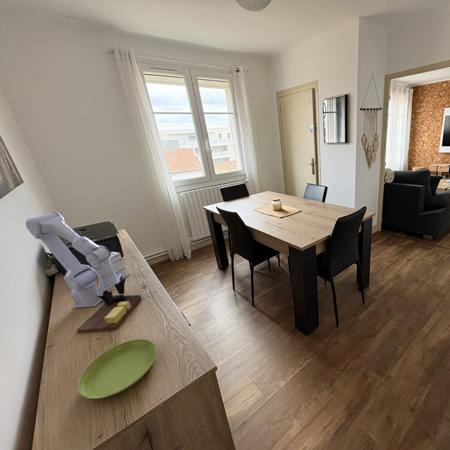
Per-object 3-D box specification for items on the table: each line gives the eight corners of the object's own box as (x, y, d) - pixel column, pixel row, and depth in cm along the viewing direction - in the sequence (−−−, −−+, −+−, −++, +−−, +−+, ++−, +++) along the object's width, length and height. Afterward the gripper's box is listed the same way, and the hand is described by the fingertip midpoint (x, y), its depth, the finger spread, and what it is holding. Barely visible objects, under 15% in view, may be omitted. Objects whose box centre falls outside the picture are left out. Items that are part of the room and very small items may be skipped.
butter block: (106, 323, 97) (104, 318, 96) (117, 312, 103) (114, 307, 102) (116, 322, 97) (114, 317, 96) (126, 312, 103) (124, 306, 102)
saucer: (89, 422, 64) (85, 414, 63) (76, 376, 77) (72, 369, 76) (168, 366, 79) (166, 359, 78) (146, 336, 92) (143, 329, 90)
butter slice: (119, 310, 104) (116, 305, 103) (122, 307, 106) (119, 301, 105) (128, 309, 104) (126, 304, 103) (131, 306, 106) (129, 301, 105)
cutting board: (77, 332, 95) (76, 329, 95) (108, 302, 112) (107, 300, 111) (116, 329, 96) (114, 326, 95) (141, 299, 112) (140, 297, 112)
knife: (104, 303, 109) (102, 299, 108) (108, 300, 111) (106, 296, 110) (140, 300, 109) (138, 296, 108) (143, 297, 111) (141, 293, 110)
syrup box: (129, 275, 134) (120, 252, 128) (118, 281, 129) (109, 257, 123) (122, 273, 136) (113, 251, 130) (111, 279, 130) (101, 256, 125)
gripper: (103, 282, 98) (115, 309, 103) (125, 264, 111) (134, 288, 116) (86, 284, 98) (98, 310, 103) (110, 265, 111) (120, 289, 116)
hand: (116, 298), depth 110 cm, fingers open, 7 cm apart
